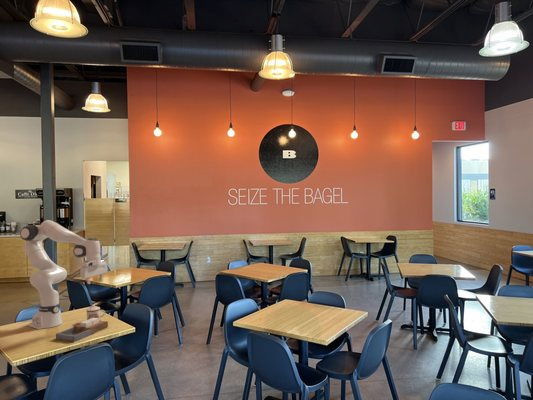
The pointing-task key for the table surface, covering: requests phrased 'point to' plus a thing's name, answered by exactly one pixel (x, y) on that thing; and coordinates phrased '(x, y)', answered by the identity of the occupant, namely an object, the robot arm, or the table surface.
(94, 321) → the rear coaster
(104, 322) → the walnut board
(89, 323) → the front coaster
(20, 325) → the table surface
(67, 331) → the tray
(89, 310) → the teacup with lid
